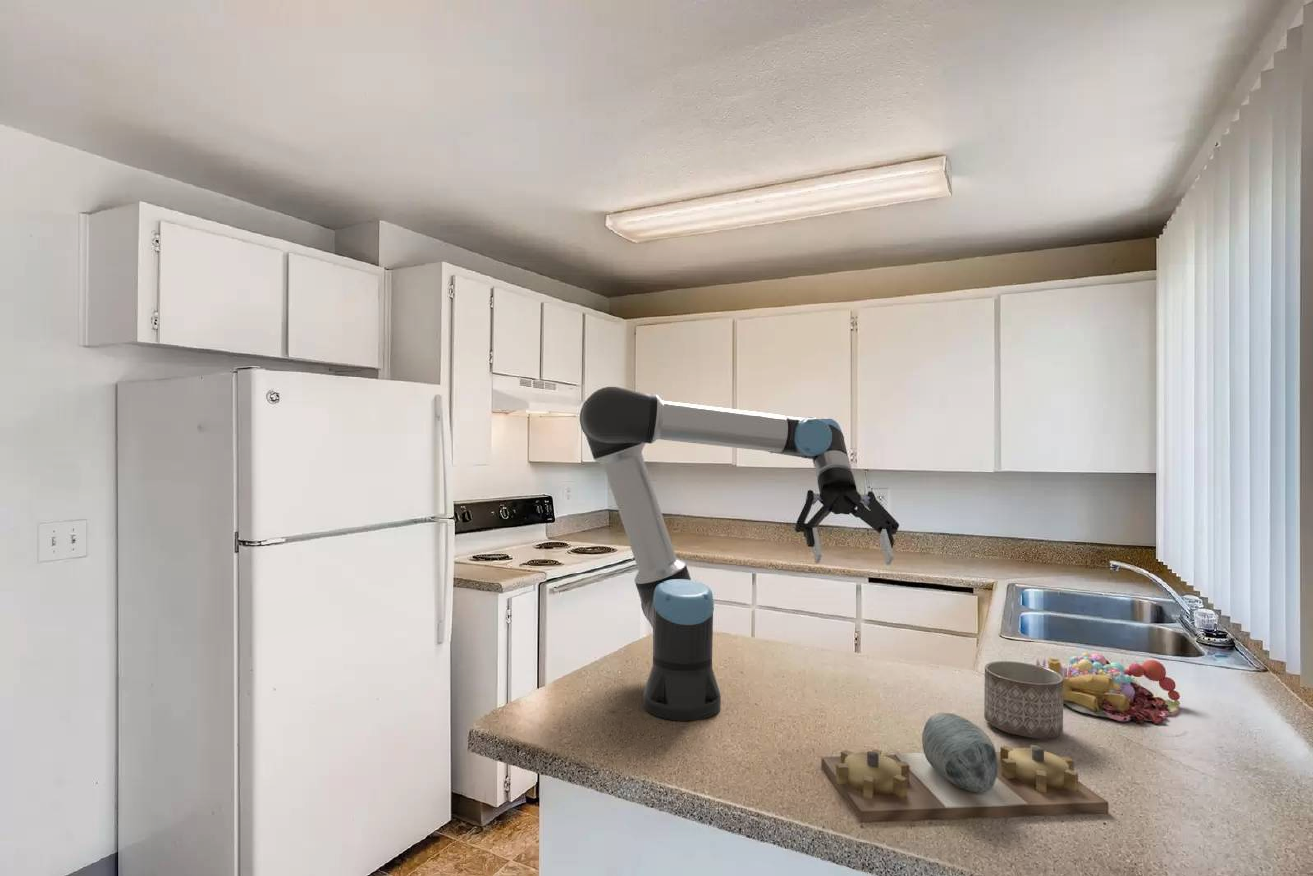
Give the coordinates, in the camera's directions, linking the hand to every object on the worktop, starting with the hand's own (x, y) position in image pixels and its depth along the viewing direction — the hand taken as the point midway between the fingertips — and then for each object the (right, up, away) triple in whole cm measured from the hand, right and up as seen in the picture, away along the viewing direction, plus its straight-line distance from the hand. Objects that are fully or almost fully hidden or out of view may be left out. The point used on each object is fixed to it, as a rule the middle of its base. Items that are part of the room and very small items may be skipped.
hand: (854, 560), depth 129 cm
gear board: (+7, -29, -27) cm, 41 cm away
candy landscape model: (+54, -31, +10) cm, 63 cm away
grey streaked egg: (+8, -28, -27) cm, 39 cm away
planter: (+29, -30, -5) cm, 42 cm away
